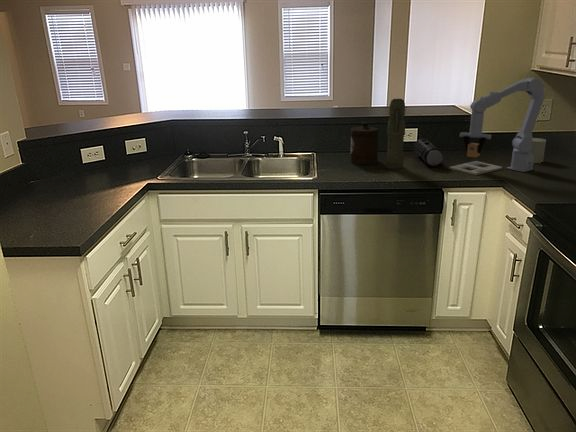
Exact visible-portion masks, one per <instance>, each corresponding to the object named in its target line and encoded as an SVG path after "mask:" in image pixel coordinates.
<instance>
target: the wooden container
mask: <svg viewBox="0 0 576 432" xmlns="http://www.w3.org/2000/svg"><path fill="white" fill-rule="evenodd" d="M378 152H379V128H378V127H374V126H369V123H368V121H362V122H361V126H356V127H355V126H354V127H351V129H350V163H352V164H356V165H372V164H376V163H377V162H378V161H379V160H378V159H379V158H378V156H379V153H378Z"/></svg>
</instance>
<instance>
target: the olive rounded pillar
mask: <svg viewBox="0 0 576 432" xmlns="http://www.w3.org/2000/svg"><path fill="white" fill-rule="evenodd" d="M405 113H406V103H405V100H404V99H403V98H393V99H391V101H390V103H389V112H388V115H389V118H388V121H387V131H386V134H387V151H386V152H387V153H386V156H385V163H386V164H385V167H386V168H385V169H389V170H394V171H395V170H397V171H398V170H402V169H403V168H404V160H405V159H404V158H405V157H404V141H405V140H404V139H405V138H404V137H405V134H406V120H405Z"/></svg>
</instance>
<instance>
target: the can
mask: <svg viewBox="0 0 576 432" xmlns="http://www.w3.org/2000/svg"><path fill="white" fill-rule="evenodd" d="M546 143H547V139H545V138H539V137H533V140H532V148H531V150H530V151H529V153H531V154H533V155H534V161H533V164H542V163H541V162H543V163H544V159H545V158H544V157H545V149H546Z"/></svg>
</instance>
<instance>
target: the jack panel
mask: <svg viewBox="0 0 576 432" xmlns="http://www.w3.org/2000/svg"><path fill="white" fill-rule="evenodd" d="M449 169H450V170H453V171H458V172H462V173H465V174H469V175H473V176H478V175H482V174H487V173H491V172H494V171H499V170H502V169H503V166H499V165H495V164H492V163H491V164H490V163H487V162H483V161H478V160H475V161H474V160H473V161H469V162H465V163H461V164H457V165H456V164H455V165H451V166H449ZM468 169H471V170H468Z"/></svg>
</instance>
